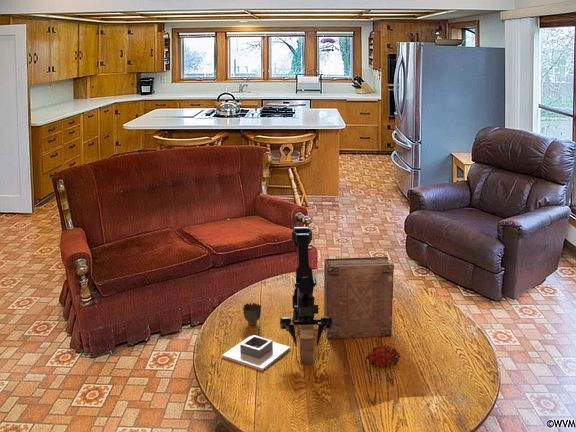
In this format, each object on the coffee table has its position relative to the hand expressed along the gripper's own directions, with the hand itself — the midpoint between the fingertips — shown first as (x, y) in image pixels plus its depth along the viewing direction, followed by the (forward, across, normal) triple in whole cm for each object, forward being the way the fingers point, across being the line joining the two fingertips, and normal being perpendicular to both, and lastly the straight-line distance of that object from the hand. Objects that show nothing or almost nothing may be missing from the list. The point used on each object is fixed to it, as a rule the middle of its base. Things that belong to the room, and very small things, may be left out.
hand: (306, 345), depth 209 cm
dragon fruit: (+8, +27, +2) cm, 28 cm away
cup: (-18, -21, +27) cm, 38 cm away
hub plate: (0, -18, +10) cm, 21 cm away
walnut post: (+4, 0, +6) cm, 7 cm away
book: (-11, +21, +21) cm, 32 cm away
